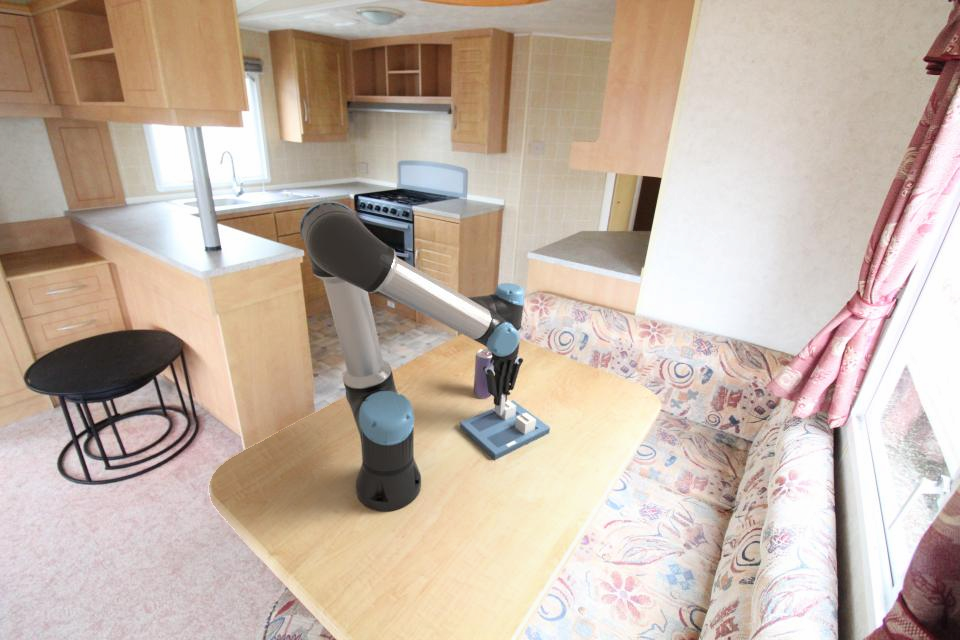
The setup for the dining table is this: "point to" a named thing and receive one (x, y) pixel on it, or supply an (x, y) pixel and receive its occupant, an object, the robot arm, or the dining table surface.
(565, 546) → the dining table surface
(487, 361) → the beverage can
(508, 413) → the tab far
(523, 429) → the tab near
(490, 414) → the switch bank
